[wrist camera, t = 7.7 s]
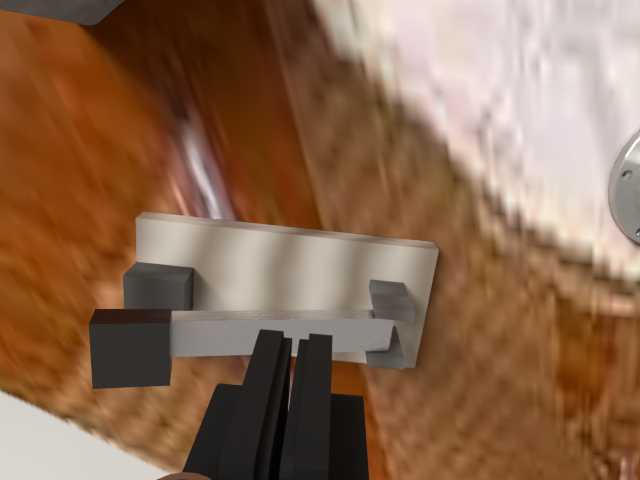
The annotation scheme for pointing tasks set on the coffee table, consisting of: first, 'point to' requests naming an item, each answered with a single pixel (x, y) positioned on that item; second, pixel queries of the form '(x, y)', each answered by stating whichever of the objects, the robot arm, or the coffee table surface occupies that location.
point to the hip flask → (64, 9)
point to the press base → (284, 275)
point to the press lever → (211, 338)
